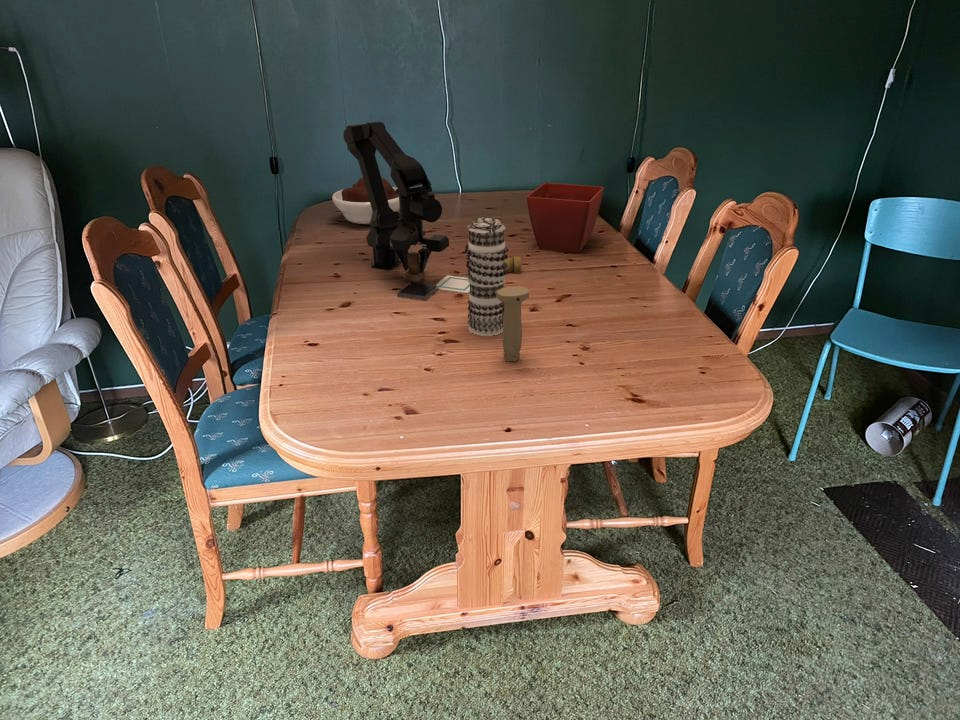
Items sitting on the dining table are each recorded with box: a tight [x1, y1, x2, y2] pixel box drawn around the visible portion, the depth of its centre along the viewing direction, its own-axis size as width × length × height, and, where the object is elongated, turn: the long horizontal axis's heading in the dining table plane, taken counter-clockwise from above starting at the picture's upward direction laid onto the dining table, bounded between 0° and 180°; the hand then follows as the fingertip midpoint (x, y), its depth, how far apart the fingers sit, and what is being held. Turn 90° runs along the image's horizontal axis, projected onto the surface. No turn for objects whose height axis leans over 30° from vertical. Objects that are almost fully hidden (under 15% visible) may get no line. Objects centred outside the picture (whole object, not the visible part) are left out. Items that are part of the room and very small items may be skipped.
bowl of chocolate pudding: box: [331, 177, 400, 225], centre depth 221 cm, size 25×25×15 cm
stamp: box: [403, 251, 426, 284], centre depth 172 cm, size 4×4×7 cm
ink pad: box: [396, 282, 439, 302], centre depth 165 cm, size 8×8×1 cm
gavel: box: [503, 256, 522, 274], centre depth 186 cm, size 21×5×10 cm
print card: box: [435, 274, 470, 295], centre depth 170 cm, size 10×10×1 cm
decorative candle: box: [464, 216, 509, 337], centre depth 140 cm, size 9×9×25 cm
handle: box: [497, 285, 530, 363], centre depth 129 cm, size 5×6×15 cm
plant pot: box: [526, 182, 605, 254], centre depth 195 cm, size 19×19×17 cm
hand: (414, 271), depth 172 cm, fingers open, 4 cm apart
